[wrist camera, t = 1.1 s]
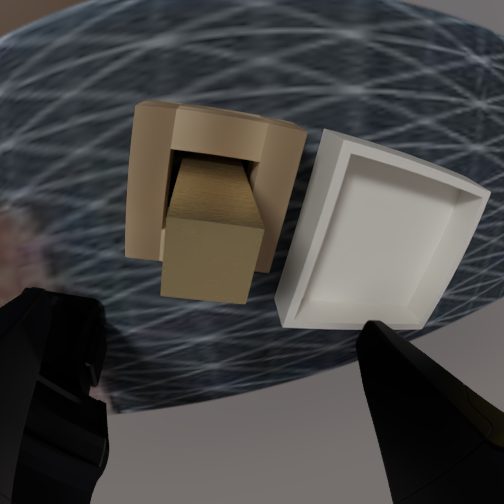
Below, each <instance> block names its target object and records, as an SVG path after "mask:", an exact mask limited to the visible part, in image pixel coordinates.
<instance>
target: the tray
mask: <svg viewBox="0 0 504 504" xmlns="http://www.w3.org/2000/svg"><path fill="white" fill-rule="evenodd" d="M490 193H491V192H490V191H488V190H487V189H485V188H483V187H482V186H480V185H479V184H477V183H475V182H474V181H472V180H470V179H469V178H467V177H465V176H463V175H460V174H458V173H456V172H453V171H451V170H448V169H446V168H443V167H441V166H438V165H436V164H433V163H431V162H428V161H425V160H423V159H420V158H417V157H414V156H412V155H409V154H406V153H403V152H400V151H397V150H394V149H391V148H388V147H385V146H382V145H379V144H376V143H373V142H370V141H366V140H363V139H360V138H356V137H353V136H350V135H346V134H343V133H339V132H335V131H332V130H328V129H324V130H323V134H322V138H321V141H320V145H319V149H318V152H317V156H316V159H315V163H314V167H313V170H312V174H311V177H310V181H309V184H308V188H307V191H306V195H305V198H304V202H303V205H302V209H301V212H300V215H299V219H298V222H297V226H296V229H295V232H294V236H293V239H292V242H291V246H290V249H289V252H288V255H287V259H286V262H285V265H284V268H283V272H282V275H281V278H280V281H279V285H278V288H277V291H276V294H275V297H274V300H275V303H276V307H277V311H278V314H279V318H280V321H281V325H282V327H284V328H308V329H344V330H362V329H363V327H364V325H365V323H366V322H367V321H368V320H380V321H382V322H383V323H385V324H386V325H387V326H389V327H390V328H391V329H393V330H409V329H422V328H423V327H424V325H425V323H426V322H427V320H428V319H429V317H430V315H431V314H432V312H433V310H434V309H435V307H436V305H437V303H438V302H439V300H440V298H441V296H442V295H443V293H444V291H445V289H446V288H447V286H448V284H449V282H450V280H451V278H452V276H453V275H454V273H455V271H456V269H457V267H458V265H459V263H460V261H461V259H462V257H463V255H464V253H465V251H466V249H467V247H468V245H469V242H470V240H471V238H472V236H473V234H474V232H475V229H476V227H477V225H478V223H479V220H480V218H481V216H482V213H483V211H484V208H485V206H486V203H487V201H488V198H489V196H490Z"/></svg>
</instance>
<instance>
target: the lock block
mask: <svg viewBox="0 0 504 504" xmlns="http://www.w3.org/2000/svg"><path fill="white" fill-rule="evenodd" d="M306 136H307V131H305V130H303V129H302V128H300V127H299V126H297V125H296V124H294V123H292V122H288V121H283V120H279V119H274V118H269V117H264V116H259V115H254V114H249V113H243V112H238V111H232V110H226V109H220V108H213V107H206V106H199V105H192V104H184V103H175V102H166V101H156V100H146V101H144V102H141V103H139V104H137V105H136V107H135V114H134V122H133V130H132V139H131V149H130V160H129V172H128V187H127V205H126V233H125V257H131V258H139V259H147V260H156V261H163V252H164V239H165V228H166V218H167V213H168V209H169V206H168V199H169V191H170V182H171V174H172V167H173V159H174V152H175V150H183V151H191V152H199V153H206V154H213V155H220V156H226V157H233V158H239V159H245V160H249V163H248V168H247V173H246V177H247V180H248V182H249V185H250V188H251V191H252V194H253V197H254V200H255V202H256V205H257V208H258V211H259V214H260V217H261V220H262V223H263V225H264V228H265V230H264V234H263V238H262V242H261V246H260V250H259V254H258V258H257V262H256V266H255V270H254V271H255V272H264V273H269V271H270V268H271V264H272V261H273V257H274V254H275V250H276V247H277V243H278V239H279V236H280V232H281V229H282V225H283V221H284V218H285V214H286V211H287V207H288V203H289V200H290V196H291V192H292V189H293V185H294V181H295V178H296V174H297V170H298V166H299V163H300V159H301V155H302V151H303V147H304V144H305V140H306Z"/></svg>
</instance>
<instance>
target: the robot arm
mask: <svg viewBox="0 0 504 504" xmlns="http://www.w3.org/2000/svg"><path fill="white" fill-rule="evenodd" d="M90 305H92V306H90ZM106 350H107V344H106V337H105V329H104V326H103V325H102V324H100V316H99V307H98V303H97V301H96V300H94V299H92V298H85V297H79V296H72V295H66V294H60V293H54V292H48V291H46V290H45V289H42V288H37V287H32V288H25V289H24V290H23V292H22V294H21V295H19V296H18V297H16V298H14V299H13V300H11V301H10V302H8V303H7V304H5V305H4V306H3V307H1V308H0V504H90V501H91V497H92V493H93V490H94V487H95V485H96V482H97V481H98V479H99V478H100V477H101V475H102V474H103V471H104V470H105V467H106V464H107V461H108V456H109V439H108V427H107V412H106V403H104V402H102V401H100V400H96V399H94V398H92V397H91V396H89V391H90V387H96V386H98V383H99V379H100V374H101V370H102V366H103V362H104V358H105V354H106ZM356 351H357V356H358V361H359V366H360V372H361V377H362V383H363V387H364V392H365V395H366V399H367V403H368V406H369V410H370V413H371V417H372V421H373V424H374V428H375V432H376V435H377V439H378V443H379V447H380V451H381V455H382V459H383V463H384V467H385V471H386V475H387V479H388V483H389V488H390V492H391V497H392V501H393V504H504V412H502V411H501V410H499V409H498V408H496V407H495V406H493V405H492V404H490V403H489V402H488V401H486V400H485V399H483V398H482V397H481V396H479V395H478V394H477V393H475V392H474V391H473V390H471V389H470V388H469V387H468V386H466V385H464V384H463V383H462V382H461V381H460V380H458V379H457V378H456V377H454V376H453V375H452V374H451V373H449V372H448V371H447V370H445V369H444V368H443V367H442V366H440V365H439V364H438V363H436V362H435V361H434V360H432V359H431V358H430V357H428V356H427V355H426V354H425V353H423V352H422V351H421V350H419V349H418V348H417V347H415V346H414V345H413V344H411V343H410V342H409V341H407V340H406V339H405V338H403V337H402V336H401V335H399V334H398V333H397V332H395V331H394V330H393V329H391V328H390V327H389V326H387V325H386V324H385V323H383V322H382V321H380V320H368V321H367V322H366V323H365V325H364V327H363V329H362V330H361V332H360V334H359V336H358V338H357V340H356Z"/></svg>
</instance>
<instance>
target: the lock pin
mask: <svg viewBox="0 0 504 504" xmlns="http://www.w3.org/2000/svg"><path fill="white" fill-rule="evenodd" d="M264 230H265V228H264V225H263V223H262V220H261V217H260V214H259V211H258V208H257V205H256V202H255V200H254V197H253V194H252V191H251V188H250V185H249V182H248V180H247V177H246V174H245V171H244V168H243V165H242V163H241V160H240V159H239V158H233V157H226V156H220V155H213V154H206V153H199V152H191V151H185V153H184V156H183V160H182V163H181V166H180V170H179V173H178V177H177V180H176V184H175V187H174V191H173V195H172V198H171V202H170V206H169V209H168V213H167V218H166V228H165V239H164V252H163V265H162V280H161V296H167V297H176V298H185V299H195V300H205V301H215V302H226V303H237V304H246V301H247V297H248V293H249V289H250V285H251V281H252V277H253V273H254V270H255V266H256V262H257V258H258V254H259V250H260V246H261V242H262V238H263V234H264Z"/></svg>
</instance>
